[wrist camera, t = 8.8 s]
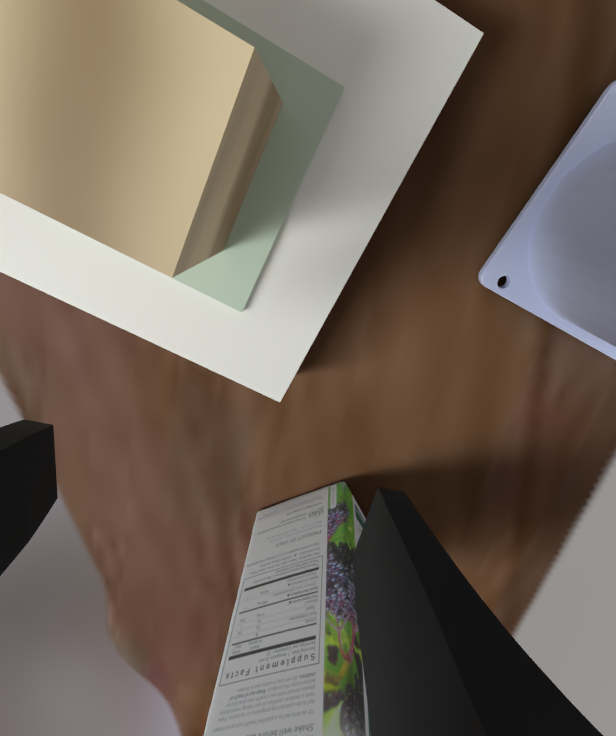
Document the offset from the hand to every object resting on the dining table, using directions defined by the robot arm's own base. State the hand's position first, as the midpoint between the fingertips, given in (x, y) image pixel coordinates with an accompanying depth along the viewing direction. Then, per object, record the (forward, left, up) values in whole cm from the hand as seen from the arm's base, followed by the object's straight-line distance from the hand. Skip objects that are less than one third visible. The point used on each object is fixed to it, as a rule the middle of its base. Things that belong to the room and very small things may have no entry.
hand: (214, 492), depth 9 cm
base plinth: (+6, -5, -10) cm, 13 cm away
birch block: (+6, -6, -8) cm, 11 cm away
